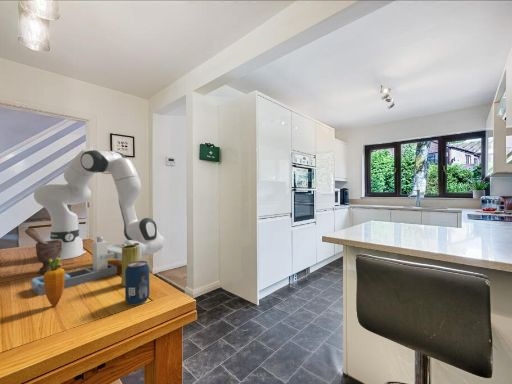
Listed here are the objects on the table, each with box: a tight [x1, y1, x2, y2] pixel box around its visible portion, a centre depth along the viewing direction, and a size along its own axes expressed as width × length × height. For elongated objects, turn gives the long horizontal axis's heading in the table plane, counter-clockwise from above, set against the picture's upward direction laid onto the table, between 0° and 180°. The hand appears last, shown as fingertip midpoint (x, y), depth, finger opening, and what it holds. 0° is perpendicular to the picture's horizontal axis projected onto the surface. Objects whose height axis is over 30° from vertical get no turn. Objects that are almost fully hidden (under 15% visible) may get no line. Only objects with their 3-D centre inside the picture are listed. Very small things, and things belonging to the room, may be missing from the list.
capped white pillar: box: [92, 236, 109, 272], centre depth 98 cm, size 4×4×16 cm
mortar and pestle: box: [24, 227, 62, 275], centre depth 102 cm, size 12×9×20 cm
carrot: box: [43, 258, 66, 307], centre depth 72 cm, size 5×5×15 cm
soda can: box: [124, 260, 150, 306], centre depth 75 cm, size 7×7×12 cm
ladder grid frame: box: [30, 263, 118, 297], centre depth 92 cm, size 9×25×4 cm, turn 146°
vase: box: [120, 245, 139, 288], centre depth 89 cm, size 6×6×14 cm
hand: (97, 256), depth 97 cm, fingers open, 5 cm apart
